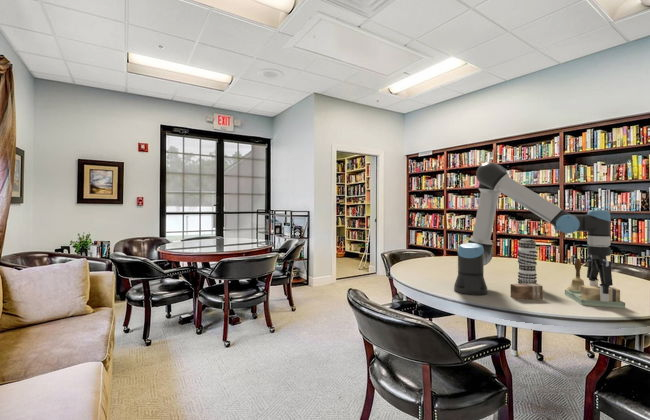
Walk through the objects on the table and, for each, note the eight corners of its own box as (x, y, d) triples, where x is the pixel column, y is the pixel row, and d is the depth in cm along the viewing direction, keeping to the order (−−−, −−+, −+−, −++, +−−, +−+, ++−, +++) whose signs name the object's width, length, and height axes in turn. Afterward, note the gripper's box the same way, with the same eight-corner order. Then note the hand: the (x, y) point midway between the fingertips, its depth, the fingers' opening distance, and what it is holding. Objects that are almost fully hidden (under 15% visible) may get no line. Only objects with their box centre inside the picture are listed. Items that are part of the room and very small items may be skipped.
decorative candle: (536, 285, 169) (536, 238, 169) (538, 289, 161) (538, 240, 161) (516, 283, 174) (516, 238, 173) (517, 287, 165) (517, 239, 165)
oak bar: (585, 301, 136) (585, 287, 136) (580, 298, 140) (580, 285, 140) (620, 304, 132) (620, 289, 132) (613, 301, 137) (613, 287, 137)
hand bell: (592, 292, 155) (592, 260, 155) (573, 291, 156) (573, 259, 156) (582, 288, 163) (582, 257, 163) (564, 287, 165) (564, 257, 164)
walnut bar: (516, 299, 143) (516, 286, 143) (510, 296, 148) (510, 283, 148) (542, 299, 144) (542, 285, 144) (535, 296, 148) (535, 283, 148)
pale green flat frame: (581, 304, 135) (581, 299, 135) (564, 294, 152) (564, 289, 152) (625, 308, 131) (625, 302, 131) (602, 296, 147) (602, 292, 147)
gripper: (624, 249, 125) (624, 306, 125) (597, 243, 145) (597, 292, 145) (601, 248, 127) (601, 304, 127) (577, 243, 147) (577, 291, 147)
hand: (599, 298), depth 136 cm, fingers open, 8 cm apart
